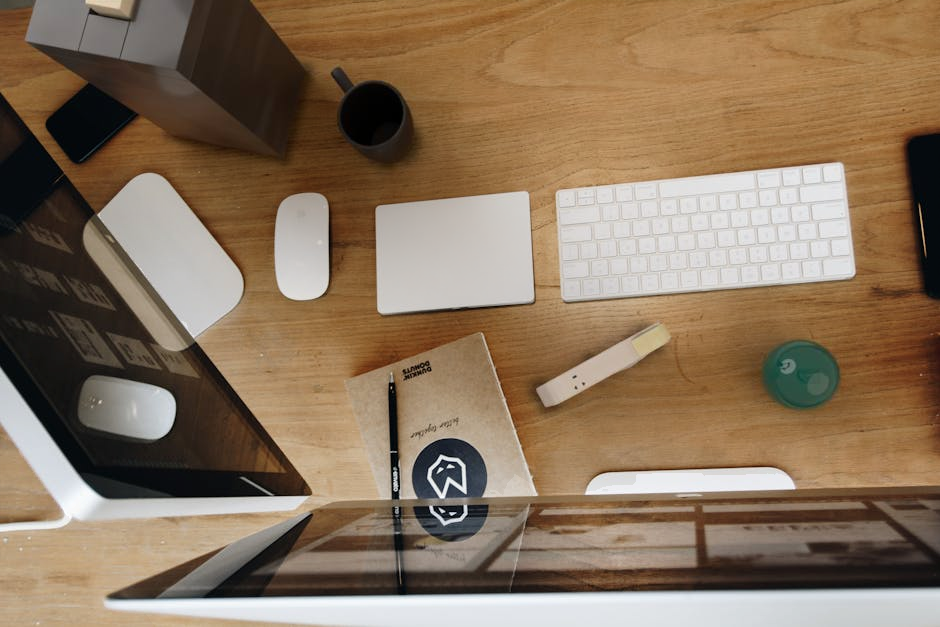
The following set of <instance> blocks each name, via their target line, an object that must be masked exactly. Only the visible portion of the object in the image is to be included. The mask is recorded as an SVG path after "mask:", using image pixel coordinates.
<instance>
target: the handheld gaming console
mask: <svg viewBox="0 0 940 627" xmlns="http://www.w3.org/2000/svg"><path fill="white" fill-rule="evenodd" d="M671 339H672V335H671V333H670V331H669V329H668V328H667V327H666V324H665V323H664V322H663V323H661V322H658V321H657V322H655V323H652V324H651V325H649V326H648V327H646V328H644V329H642V330H640V331H638V332H637V333H635V334H633V335H631V336H629V337H628V338H625V339H624V340H622V341H620V342H618V343H615V344H613V345H612V346H610V347H608V348H606V349H605V350H603V351H601V352H599V353H598V354H596V355H594V356H592V357H590V358H589V359H587V360H585V361H583V362H581V363H579V364H578V365H576V366H574V367H571V368H570V369H568V370H567V371H564V372H563V373H560V374H559V375H558V376H556V377H554V378H552V379H550V380H548V381H547V382H545V383H543V384H542V385H540V386H538V387H536V389H535V391H536V393H537V395H538V396H539V398H540V400H541V402H542V404H543V405H544V407H545V408H549V407H553V406H557V405H559V404H561V403H563V402H565V401H567V400H568V399H571V398H572V397H574V396H576V395H578V394H579V393H582V392H583V391H585V390H587V389H589V388H591V387H592V386H595V385H596V384H597V383H600V382H602V381H603V380H605V379H607V378H608V377H610V376H613V375H614V374H617V373H619V372H621V371H625V370H628V369H630V368H631V367H633V366H634V365H636V364H638V362H639V361H641V360H643V359H644V358H645V357H647V355H650V353H652V352H654V351H655V350H657V349H658V348H661V347H663V346H664V345H666V344H668V343H669V342H671Z"/></svg>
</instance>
